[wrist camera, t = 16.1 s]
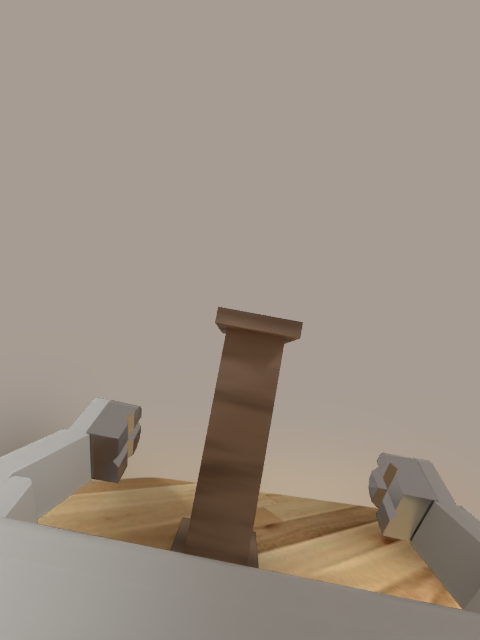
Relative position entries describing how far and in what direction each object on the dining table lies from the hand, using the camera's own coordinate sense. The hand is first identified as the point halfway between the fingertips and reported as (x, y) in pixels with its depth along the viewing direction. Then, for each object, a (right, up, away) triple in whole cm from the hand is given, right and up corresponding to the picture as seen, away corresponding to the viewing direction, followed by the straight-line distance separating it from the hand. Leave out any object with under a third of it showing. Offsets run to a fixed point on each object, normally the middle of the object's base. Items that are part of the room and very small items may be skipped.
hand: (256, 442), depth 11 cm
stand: (-3, -21, +22) cm, 31 cm away
